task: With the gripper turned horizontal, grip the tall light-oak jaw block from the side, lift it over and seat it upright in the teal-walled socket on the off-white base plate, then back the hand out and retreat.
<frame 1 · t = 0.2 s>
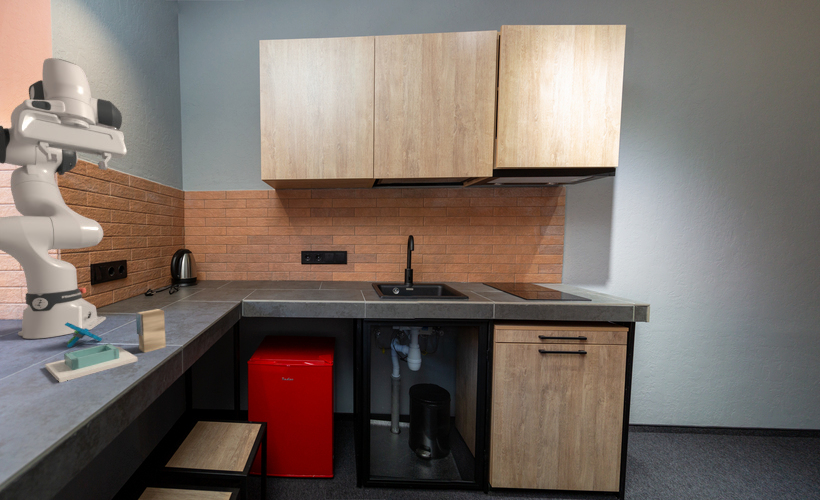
hand: (79, 165, 82), 52 cm above the countertop, tool tilted 20°, fingers open, 8 cm apart
socket base: (92, 364, 81), on the countertop
blue crossed bar frame: (84, 344, 95), on the countertop
jaw block: (152, 348, 92), on the countertop
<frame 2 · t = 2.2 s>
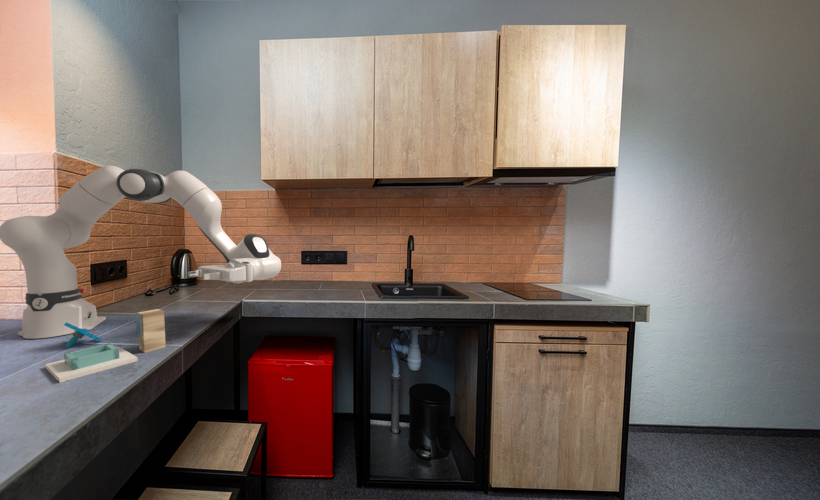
hand: (195, 275, 100), 20 cm above the countertop, tool horizontal, fingers open, 8 cm apart
nothing on the countertop moved.
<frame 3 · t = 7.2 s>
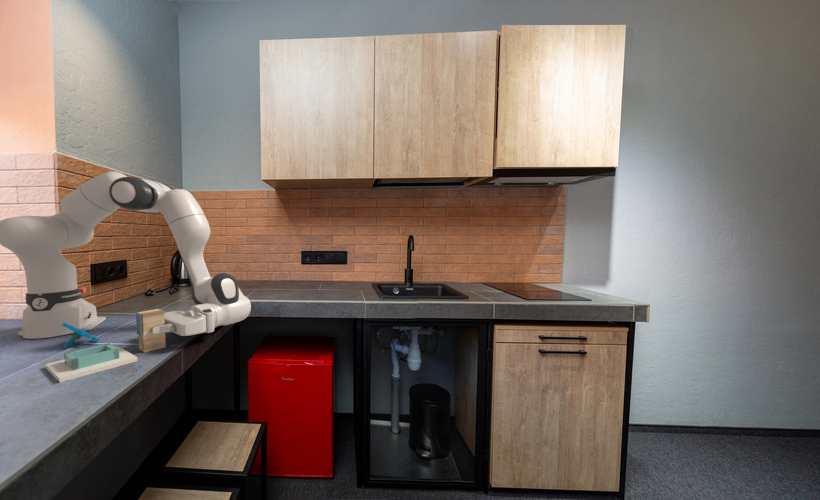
hand: (147, 329, 90), 6 cm above the countertop, tool horizontal, fingers closed on jaw block, 4 cm apart
jaw block: (152, 348, 92), on the countertop, touching gripper
everything else where it was.
when the fingers open (8 cm above the countertop, at t = 12.5 s): jaw block drops 1 cm, resting on socket base.
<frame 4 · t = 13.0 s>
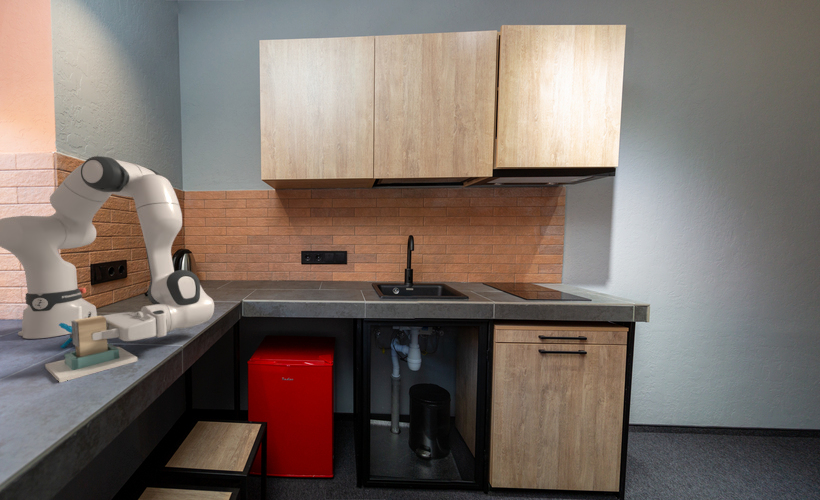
hand: (85, 333, 79), 8 cm above the countertop, tool horizontal, fingers open, 8 cm apart
jaw block: (92, 360, 81), point 1 cm above the countertop, touching socket base
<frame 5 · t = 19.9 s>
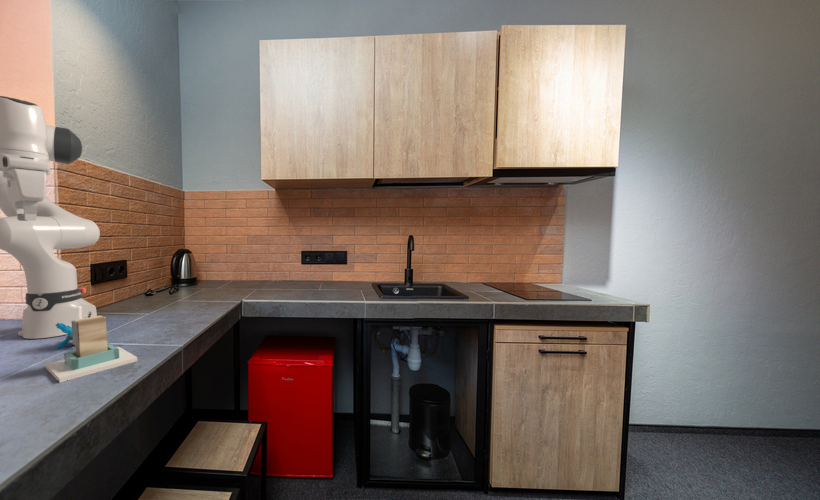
hand: (26, 220, 78), 37 cm above the countertop, tool pointing down, fingers open, 8 cm apart
at the end: jaw block 0.1 cm off-centre on the socket base, point 1.0 cm above the socket base's base; jaw block tilted 0°; the gripper is holding nothing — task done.
